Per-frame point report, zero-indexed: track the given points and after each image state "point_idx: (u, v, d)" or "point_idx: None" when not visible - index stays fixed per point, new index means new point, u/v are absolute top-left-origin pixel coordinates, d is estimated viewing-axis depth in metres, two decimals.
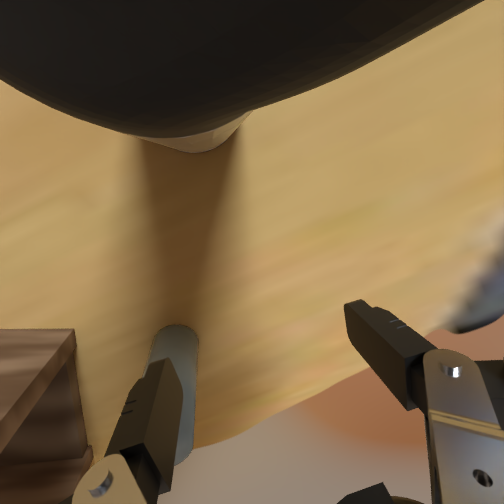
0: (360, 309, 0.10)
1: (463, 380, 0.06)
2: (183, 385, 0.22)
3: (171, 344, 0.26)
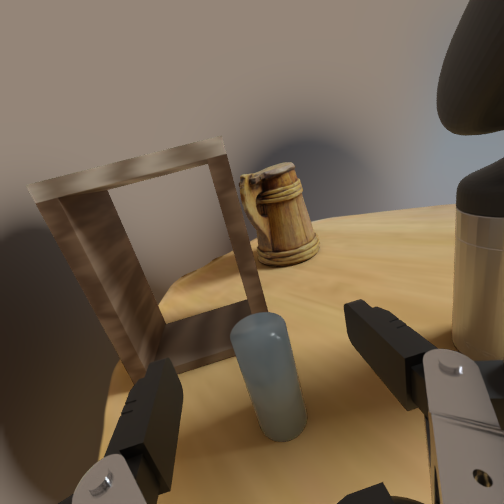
0: (360, 309, 0.10)
1: (463, 380, 0.06)
2: (292, 363, 0.24)
3: None
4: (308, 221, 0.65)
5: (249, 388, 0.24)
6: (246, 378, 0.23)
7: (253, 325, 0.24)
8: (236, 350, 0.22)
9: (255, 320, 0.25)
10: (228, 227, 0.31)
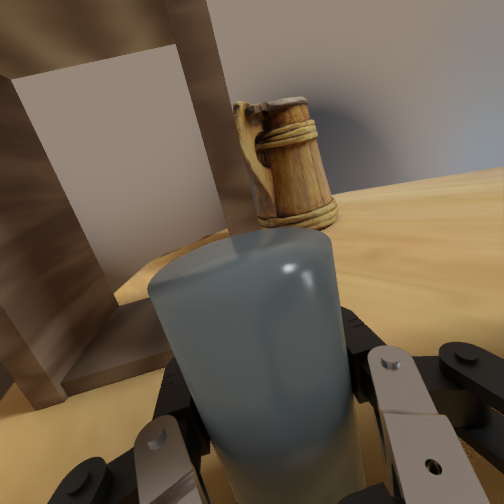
0: None
1: (398, 373, 0.07)
2: (346, 365, 0.07)
3: None
4: (324, 178, 0.49)
5: (212, 440, 0.08)
6: (200, 411, 0.07)
7: (229, 250, 0.08)
8: (158, 314, 0.06)
9: (234, 242, 0.09)
10: (192, 88, 0.16)
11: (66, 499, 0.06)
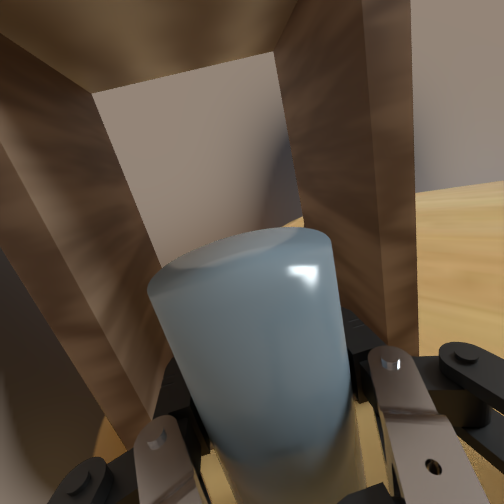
0: None
1: (398, 373, 0.07)
2: (347, 365, 0.07)
3: None
4: None
5: (212, 441, 0.08)
6: (200, 411, 0.07)
7: (229, 250, 0.08)
8: (157, 314, 0.06)
9: (234, 242, 0.09)
10: (374, 115, 0.13)
11: (66, 499, 0.06)
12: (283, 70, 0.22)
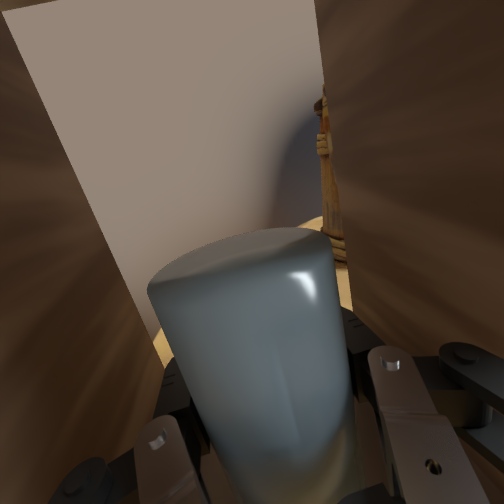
0: None
1: (398, 373, 0.07)
2: (347, 365, 0.07)
3: None
4: None
5: (212, 441, 0.08)
6: (200, 412, 0.07)
7: (229, 250, 0.08)
8: (157, 315, 0.06)
9: (234, 243, 0.09)
10: None
11: (66, 499, 0.06)
12: None
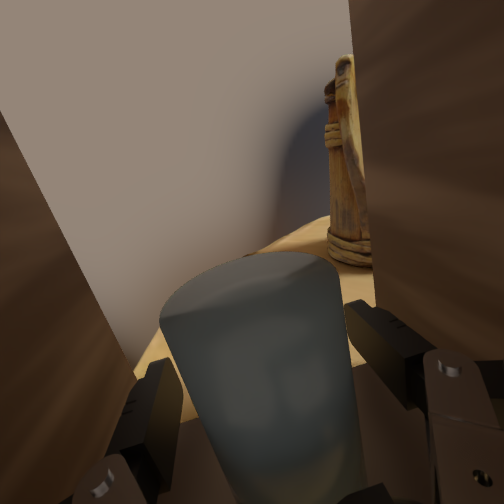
0: (360, 309, 0.10)
1: (463, 380, 0.06)
2: (353, 392, 0.08)
3: None
4: None
5: (221, 465, 0.08)
6: (210, 438, 0.07)
7: (237, 277, 0.08)
8: (170, 349, 0.06)
9: (242, 267, 0.09)
10: None
11: None
12: None
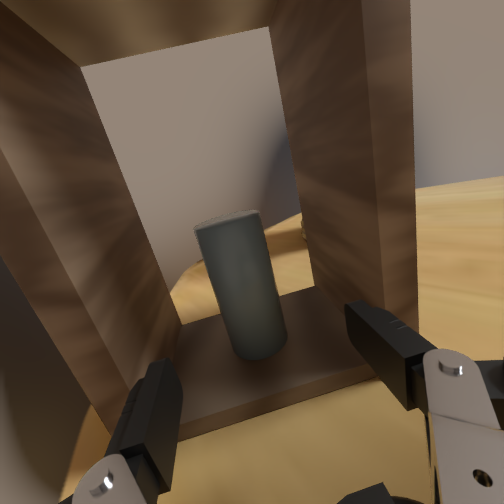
0: (360, 309, 0.10)
1: (463, 380, 0.06)
2: (266, 260, 0.20)
3: None
4: None
5: (216, 290, 0.20)
6: (212, 276, 0.20)
7: (223, 218, 0.21)
8: (198, 236, 0.19)
9: (225, 216, 0.21)
10: (371, 68, 0.12)
11: None
12: (278, 44, 0.21)
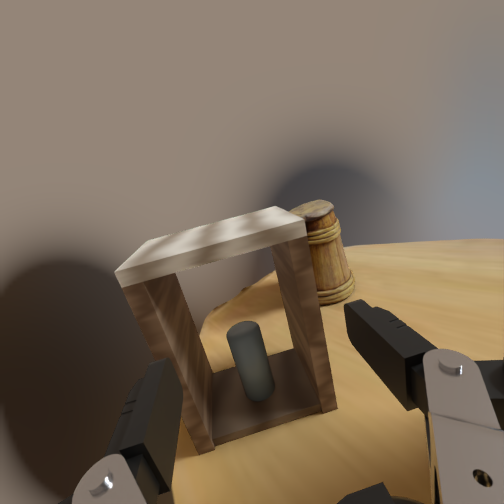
0: (360, 309, 0.10)
1: (463, 380, 0.06)
2: (263, 352, 0.39)
3: (270, 367, 0.42)
4: (345, 260, 0.65)
5: (237, 367, 0.40)
6: (235, 360, 0.39)
7: (241, 329, 0.40)
8: (229, 343, 0.38)
9: (242, 325, 0.41)
10: (302, 302, 0.31)
11: None
12: None
